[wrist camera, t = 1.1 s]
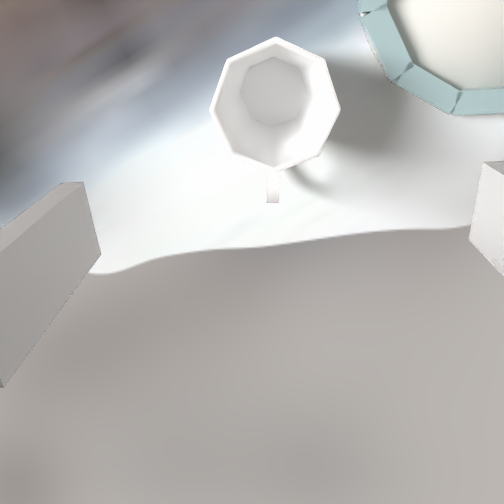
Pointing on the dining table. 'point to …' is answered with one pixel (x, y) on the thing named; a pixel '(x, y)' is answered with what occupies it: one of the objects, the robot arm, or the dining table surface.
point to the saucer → (441, 50)
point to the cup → (275, 108)
